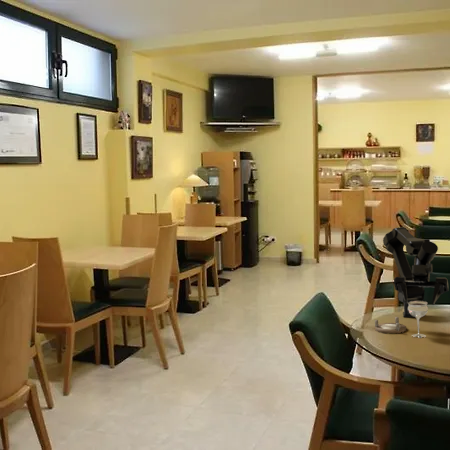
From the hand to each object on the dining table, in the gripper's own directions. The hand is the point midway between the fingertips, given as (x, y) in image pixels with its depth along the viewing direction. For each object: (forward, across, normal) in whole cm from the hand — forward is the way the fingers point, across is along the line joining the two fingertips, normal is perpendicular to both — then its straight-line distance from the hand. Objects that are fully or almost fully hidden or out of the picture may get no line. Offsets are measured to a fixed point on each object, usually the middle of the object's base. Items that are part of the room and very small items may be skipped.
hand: (419, 303), depth 204 cm
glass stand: (+6, -11, +9) cm, 15 cm away
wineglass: (+11, 0, +5) cm, 12 cm away
